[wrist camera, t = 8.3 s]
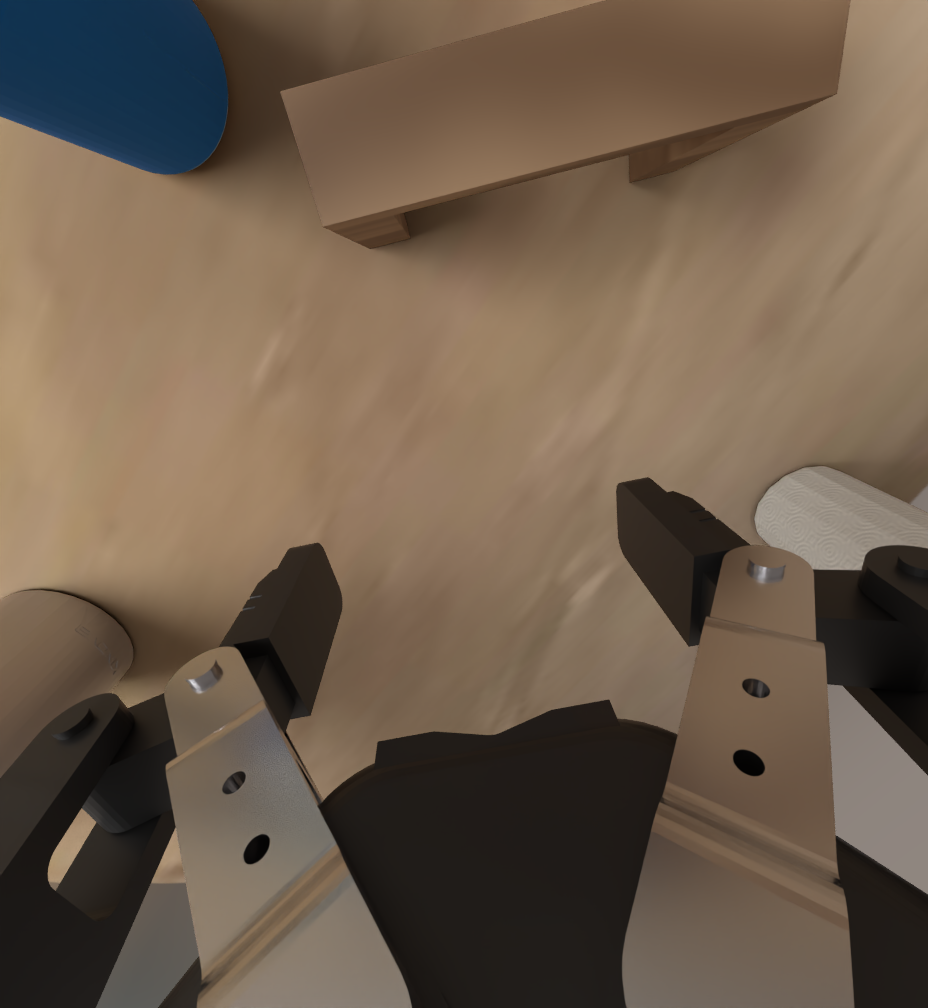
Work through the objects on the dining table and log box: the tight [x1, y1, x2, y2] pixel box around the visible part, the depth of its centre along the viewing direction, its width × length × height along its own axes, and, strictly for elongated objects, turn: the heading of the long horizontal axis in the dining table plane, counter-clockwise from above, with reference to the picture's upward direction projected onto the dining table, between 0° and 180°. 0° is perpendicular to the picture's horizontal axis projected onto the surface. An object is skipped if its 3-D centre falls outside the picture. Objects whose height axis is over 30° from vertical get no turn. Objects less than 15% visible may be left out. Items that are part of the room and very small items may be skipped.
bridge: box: [280, 0, 850, 249], centre depth 15 cm, size 3×14×9 cm, turn 102°
